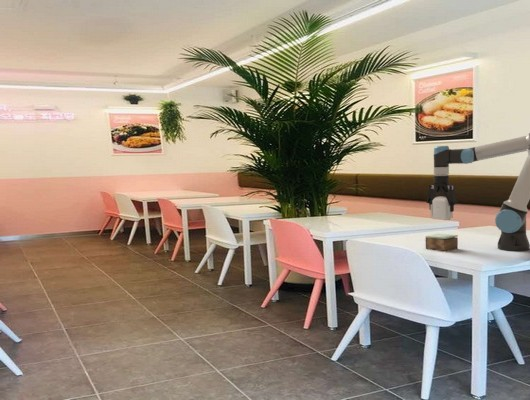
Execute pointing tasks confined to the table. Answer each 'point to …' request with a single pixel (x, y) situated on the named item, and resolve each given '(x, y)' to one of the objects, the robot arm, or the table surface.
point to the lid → (441, 236)
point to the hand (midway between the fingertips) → (441, 217)
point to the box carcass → (442, 244)
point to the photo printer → (440, 208)
